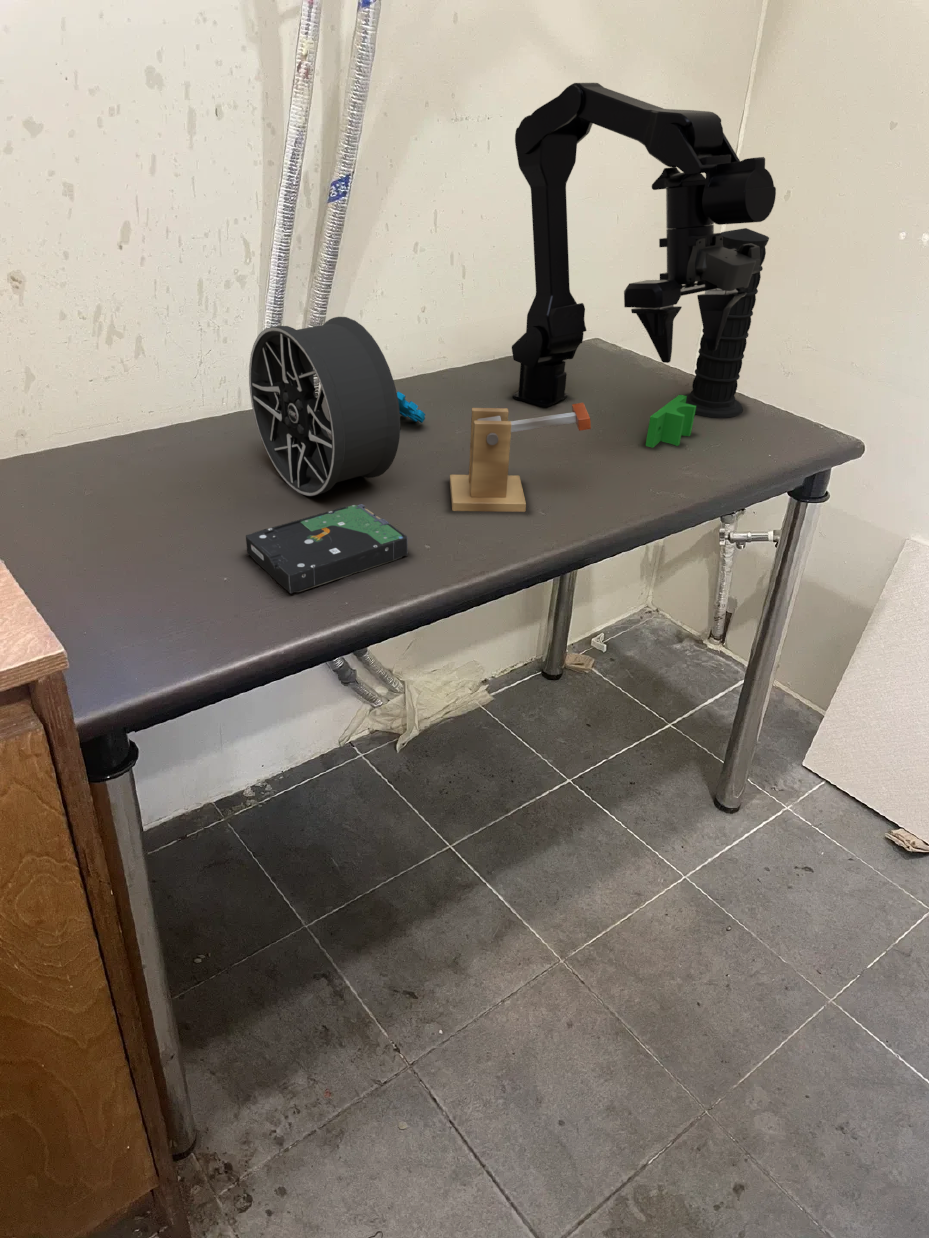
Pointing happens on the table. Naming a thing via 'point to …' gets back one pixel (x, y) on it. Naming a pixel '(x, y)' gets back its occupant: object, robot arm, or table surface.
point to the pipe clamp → (671, 422)
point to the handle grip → (727, 344)
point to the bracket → (488, 468)
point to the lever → (551, 420)
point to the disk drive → (326, 547)
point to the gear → (409, 409)
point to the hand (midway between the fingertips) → (689, 356)
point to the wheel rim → (351, 393)
